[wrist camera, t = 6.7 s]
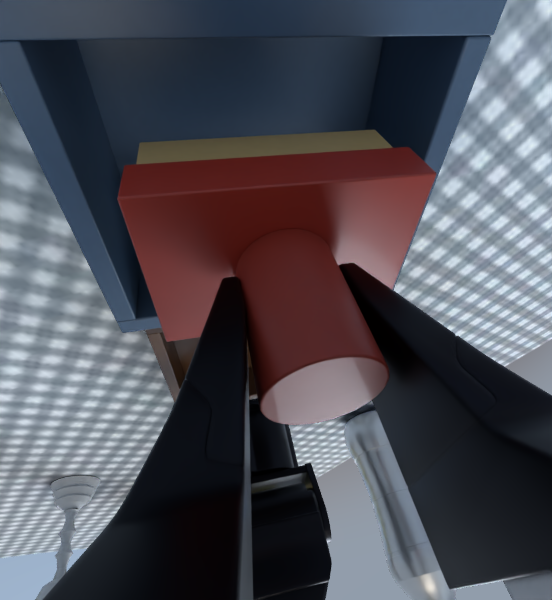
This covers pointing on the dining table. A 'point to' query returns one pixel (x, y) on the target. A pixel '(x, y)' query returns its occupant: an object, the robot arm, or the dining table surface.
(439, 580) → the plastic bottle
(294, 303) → the brush
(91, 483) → the chalice
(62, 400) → the dining table surface
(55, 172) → the tote
